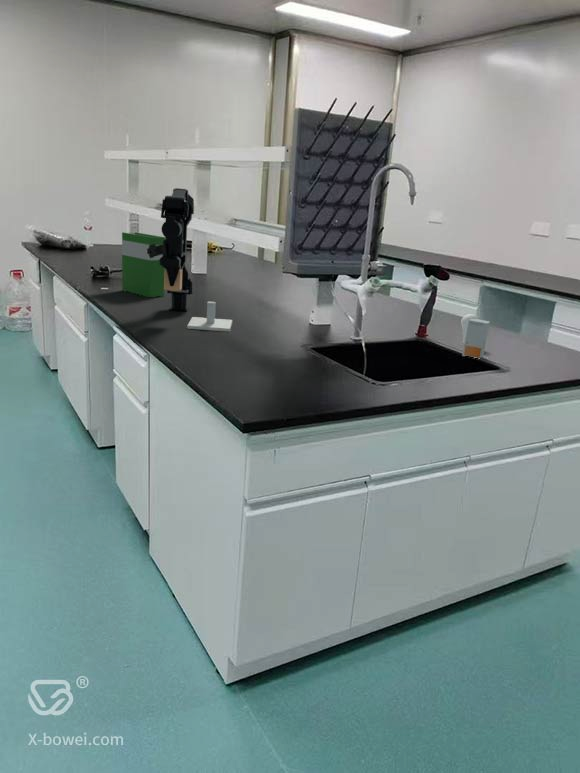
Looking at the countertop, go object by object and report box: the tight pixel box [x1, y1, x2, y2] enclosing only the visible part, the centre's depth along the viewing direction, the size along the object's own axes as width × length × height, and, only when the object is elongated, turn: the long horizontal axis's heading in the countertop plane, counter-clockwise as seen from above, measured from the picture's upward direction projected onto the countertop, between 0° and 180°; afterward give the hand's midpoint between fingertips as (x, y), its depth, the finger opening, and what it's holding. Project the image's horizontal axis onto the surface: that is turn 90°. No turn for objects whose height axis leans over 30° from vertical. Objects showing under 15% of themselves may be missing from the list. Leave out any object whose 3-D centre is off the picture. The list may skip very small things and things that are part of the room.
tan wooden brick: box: [164, 268, 182, 291], centre depth 198 cm, size 5×5×7 cm
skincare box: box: [461, 318, 491, 359], centre depth 190 cm, size 6×4×12 cm
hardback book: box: [121, 231, 165, 298], centre depth 246 cm, size 18×7×24 cm, turn 53°
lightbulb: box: [460, 313, 480, 344], centre depth 206 cm, size 6×6×11 cm
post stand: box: [186, 300, 233, 333], centre depth 202 cm, size 14×14×8 cm
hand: (173, 284), depth 198 cm, fingers closed on tan wooden brick, 5 cm apart
